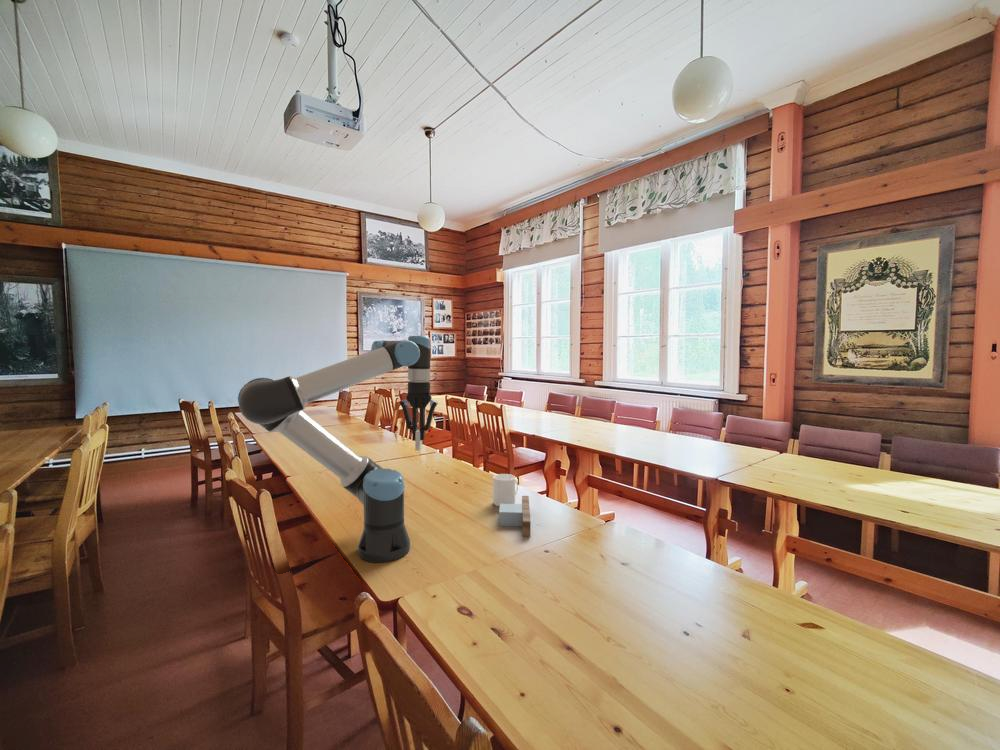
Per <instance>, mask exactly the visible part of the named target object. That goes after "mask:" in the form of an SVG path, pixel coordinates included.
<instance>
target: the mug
mask: <svg viewBox="0 0 1000 750" xmlns="http://www.w3.org/2000/svg"><path fill="white" fill-rule="evenodd" d="M492 477H493V479H492V484H493V485H492V486H493V488H492V489H493V490H492V491H493V493H492V494H493V495H492V497H493V498H492V499H493V500H492V501H493V504H494V505H495V506H496V507H498V506H499V508H500V504H516V495H517V492H518V489H519V488H518V487H519V484H518V483H519V482H518V481H517V479H516V475H513V474H511V473H498V474H495V475H493V476H492Z"/></svg>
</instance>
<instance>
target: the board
mask: <svg viewBox="0 0 1000 750" xmlns="http://www.w3.org/2000/svg"><path fill="white" fill-rule="evenodd" d="M521 504H522V526H521V527H522V529H521V530H522V531H521V532H522V537H531V509H530V497H529V495H521Z"/></svg>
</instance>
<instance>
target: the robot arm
mask: <svg viewBox="0 0 1000 750" xmlns="http://www.w3.org/2000/svg"><path fill="white" fill-rule="evenodd" d="M431 351H432V347H431V339H430V337H429V336H427V335H409V336H408V339H402V340H375V341H373V342H372V345H371V347H370V351H368V352H365V353H362V354H360V355H356V356H354V357H351V358H347V359H345V360H342V361H340V362H337V363H334V364H331V365H328V366H326V367H325V366H324V367H322V368H321V369H320V368H319V369H317V370H314V371H311V372H308V373H306V374H303V375H300V376H297V377H293V376H290V375H289V376H286V377H283V378H279V379H274V380H273V378H269V377H258V378H253V379H251V380H249V381H248V382H247V383H245V384H244V385H243V386H242V387H241V389H239V393H238V396H237V402H238V408H239V411H240V413H241V415H242V416H243V417H244V418H245V419H246V420H247V421H249V422H251V423H253V424H255V425H256V424H257V425H259V426H260V427H262V428H264V429H265V430H266V431H268V432H269V433H272V432H273V433H275V432H278V433H280V434H281V435H283V436H284V437H285V438H287V440H289V441H290V442H292V443H293V444H294V445H296V446H297V447H298V448H300V449H301V450H302V451H303V452H304V453H306V454H308V455H309V456H310V457H311V458H313V459H314V460H315V461H316V462H318V463H319V464H321V465H322V466H323V467H325V468H326V469H328V471H330V472H331V473H333V474H334V475H335V476H337V477H338V478H339V479H340V486H341V487H343V488H344V489H345V490H347V491H348V492H349V493H351V494H352V495H353V496H354V497H355V498H357V499H358V501H359V502H360V503H361V504H362V505H363V530H362V533H361V536H360V539H359V542H358V545H357V554H358V557H359V558H360V559H361V560H363V561H365V562H371V563H386V562H392V561H395V560H399V559H401V558H402V557H404V556H405V555H407V554H408V553H409V552H410V550H411V539H410V536H409V533H408V530H407V528H406V525H405V488H406V487H405V481H404V476H403V475H402V473H401V472H399V471H398V470H396V469H391V468H383V467H382V465H381V466H380V465H379V464H377V463H376V462H374V461H373V459H371V458H370V457H369V456H367V455H361V456H360V455H358V454H357V453H355V452H354V451H353V450H352V449H351V448H349V447H348V446H347V445H346V444H345V443H344V442H342V441H341V440H339V439H338V437H336V436H334V435H333V434H332V433H331V432H330V431H328V430H327V429H326V428H325V427H323V426H322V425H321V424H320V423H318V422H317V421H316V420H314V418H312V417H311V416H309V414H307V413H306V412H305V411H304V410H305V408H306V407H307V405H308V404H311V403H313V402H315V401H318V400H320V399H323V398H325V397H328V396H331V395H332V394H336V393H338V392H341V391H343V390H345V389H349V388H351V387H353V386H355V385H358V384H362V383H363V382H367V381H369V380H371V379H374V378H376V377H379V376H381V375H384V374H386V373H388V372H392V371H394V370H397V369H399V368H402V367H407V380H408V382H407V395H406V397H405V399H404V400H401V401H400V402H399V405H400V407H401V408H402V410H403V412H402V413H403V416H404V420H405V424H406V427H407V429H408V430H411V431H412V440H413V441H415V442H414V443H415V449H414V450H415V451H419V452H420V451H421V450H422V448H423V447H422V445H423V443H422V442H423V441H424V440H425V434H426V433H425V432H426V431H428V430H429V429H430V428H431V425H432V420H433V416H434V413H435V409H436V407H437V406H438V404H439V402H438V401H435V400H434V399H432V396H431V382H430V380H431ZM408 405H410V407H411V411H412V418H411V415H410V410H409V406H408ZM428 405H429V411H428V415H427V418H426V407H428ZM418 411H419V412H418ZM418 413H419V415H418ZM418 418H419V419H418ZM418 420H419V422H418ZM418 423H419V426H418Z"/></svg>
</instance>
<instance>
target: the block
mask: <svg viewBox="0 0 1000 750" xmlns="http://www.w3.org/2000/svg"><path fill="white" fill-rule="evenodd" d="M498 526H499V527H522V503H514V504H500V507H499V512H498Z"/></svg>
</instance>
